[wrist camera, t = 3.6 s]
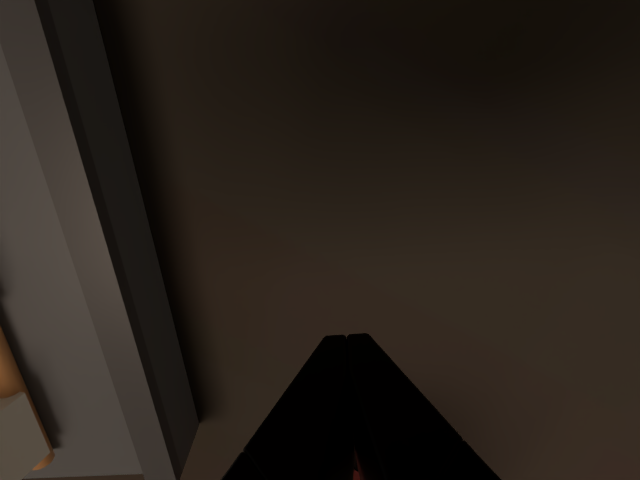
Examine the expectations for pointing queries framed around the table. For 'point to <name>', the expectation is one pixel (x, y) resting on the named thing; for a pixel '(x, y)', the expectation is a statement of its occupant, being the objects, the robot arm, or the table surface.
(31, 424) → the breaker paddles
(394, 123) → the table surface
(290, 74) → the table surface
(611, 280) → the table surface
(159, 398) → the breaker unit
